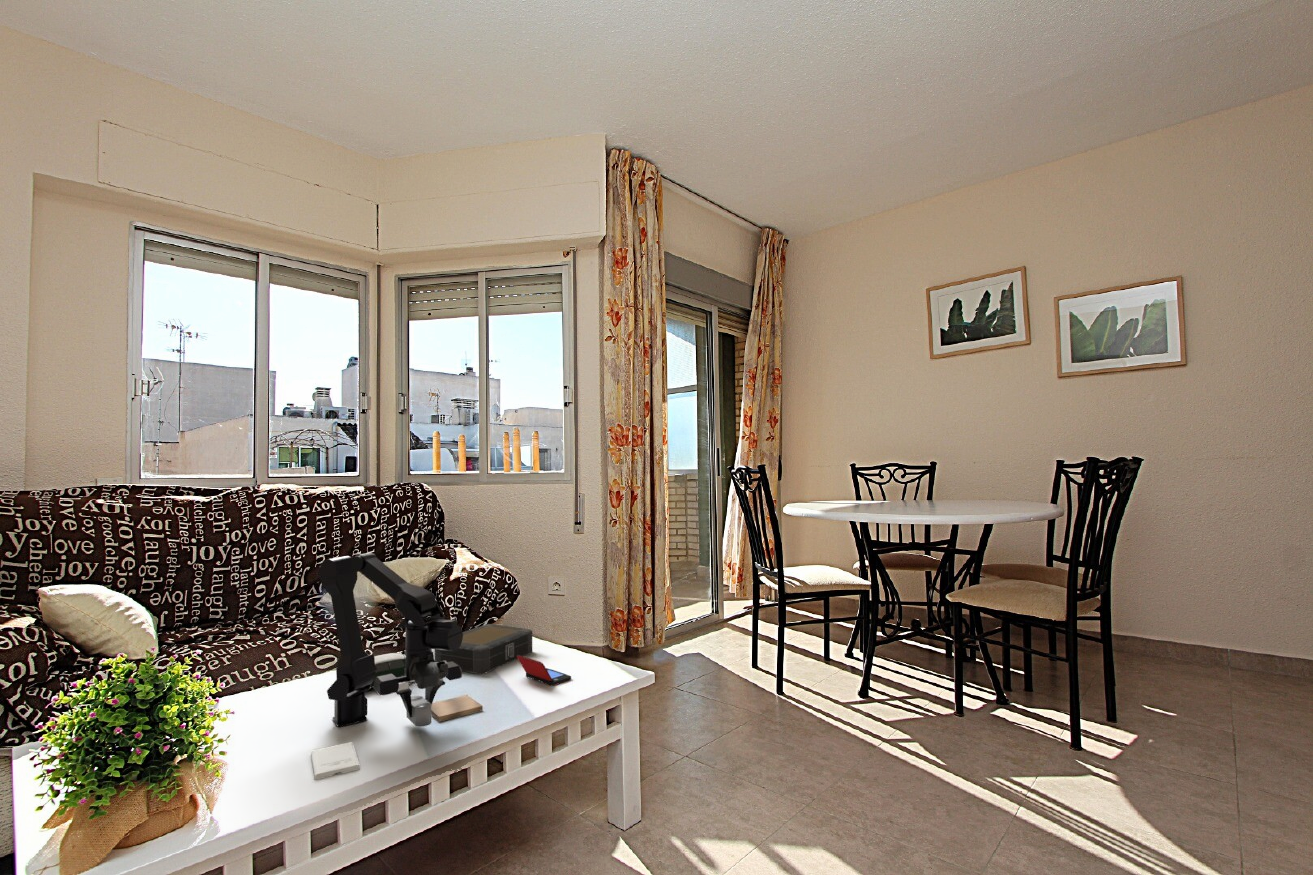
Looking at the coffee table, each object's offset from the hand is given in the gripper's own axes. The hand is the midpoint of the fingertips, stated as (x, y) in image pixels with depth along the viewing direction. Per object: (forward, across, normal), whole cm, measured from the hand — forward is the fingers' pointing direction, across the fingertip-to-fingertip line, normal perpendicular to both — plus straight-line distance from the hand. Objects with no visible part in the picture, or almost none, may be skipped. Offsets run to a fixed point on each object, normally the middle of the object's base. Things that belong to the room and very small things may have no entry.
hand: (418, 714), depth 153 cm
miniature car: (+4, +2, +39) cm, 39 cm away
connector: (+1, 0, +1) cm, 2 cm away
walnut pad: (+4, +11, +7) cm, 14 cm away
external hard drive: (+4, -19, -5) cm, 20 cm away
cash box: (+4, +35, +42) cm, 55 cm away
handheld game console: (+4, +40, +13) cm, 42 cm away
